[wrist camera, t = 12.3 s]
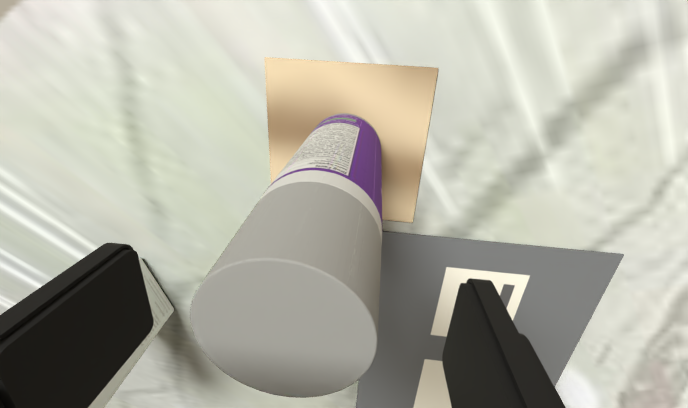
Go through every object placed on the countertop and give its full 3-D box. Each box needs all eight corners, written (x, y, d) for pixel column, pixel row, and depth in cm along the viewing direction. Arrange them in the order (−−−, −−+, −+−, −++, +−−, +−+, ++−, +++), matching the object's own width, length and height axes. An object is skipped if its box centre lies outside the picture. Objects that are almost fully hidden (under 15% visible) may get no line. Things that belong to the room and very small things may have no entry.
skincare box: (101, 263, 28) (-79, 405, 17) (145, 254, 27) (-15, 398, 16) (139, 317, 30) (4, 471, 19) (181, 310, 29) (63, 468, 18)
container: (384, 180, 22) (390, 402, 8) (315, 186, 22) (218, 400, 9) (378, 108, 20) (373, 246, 6) (302, 117, 20) (152, 259, 7)
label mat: (526, 438, 32) (527, 439, 32) (355, 415, 33) (355, 416, 33) (623, 254, 22) (624, 255, 22) (375, 230, 23) (375, 231, 23)
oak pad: (412, 221, 23) (412, 222, 23) (272, 208, 24) (272, 209, 23) (438, 67, 18) (438, 67, 18) (265, 57, 19) (264, 57, 19)
